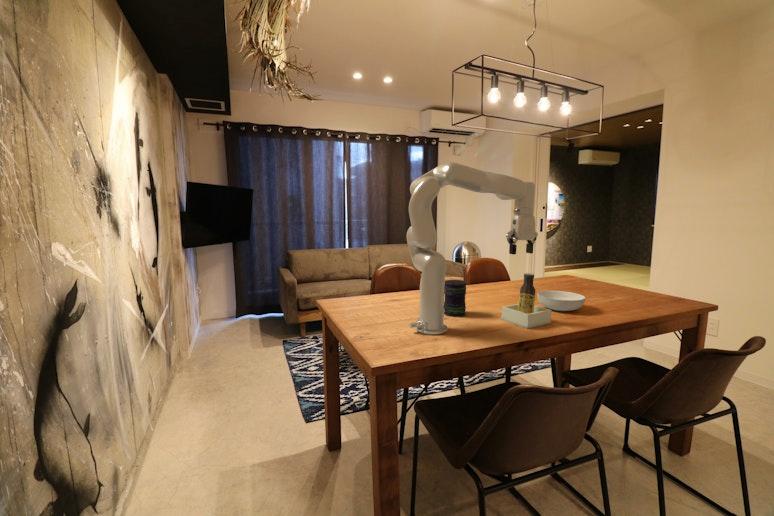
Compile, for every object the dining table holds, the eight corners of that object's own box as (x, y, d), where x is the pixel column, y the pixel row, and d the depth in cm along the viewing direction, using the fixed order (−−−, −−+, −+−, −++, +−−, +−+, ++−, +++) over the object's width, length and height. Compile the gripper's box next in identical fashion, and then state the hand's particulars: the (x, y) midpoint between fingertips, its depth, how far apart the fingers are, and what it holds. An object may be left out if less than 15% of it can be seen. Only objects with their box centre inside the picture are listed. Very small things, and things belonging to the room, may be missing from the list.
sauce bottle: (516, 320, 158) (518, 274, 155) (518, 316, 163) (520, 272, 160) (532, 322, 155) (535, 275, 152) (534, 318, 160) (537, 273, 157)
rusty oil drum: (448, 309, 177) (449, 279, 175) (468, 312, 172) (469, 281, 170) (440, 315, 169) (440, 282, 167) (461, 318, 164) (461, 285, 162)
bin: (527, 328, 149) (528, 314, 149) (501, 319, 162) (501, 306, 161) (550, 323, 156) (551, 310, 155) (524, 315, 168) (524, 302, 167)
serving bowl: (593, 315, 168) (594, 300, 167) (546, 315, 168) (547, 300, 167) (571, 303, 188) (572, 290, 187) (529, 303, 189) (530, 290, 188)
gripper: (515, 212, 146) (512, 255, 149) (545, 212, 154) (542, 253, 157) (501, 212, 153) (499, 253, 155) (531, 212, 161) (528, 251, 163)
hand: (521, 253), depth 156 cm, fingers open, 9 cm apart
